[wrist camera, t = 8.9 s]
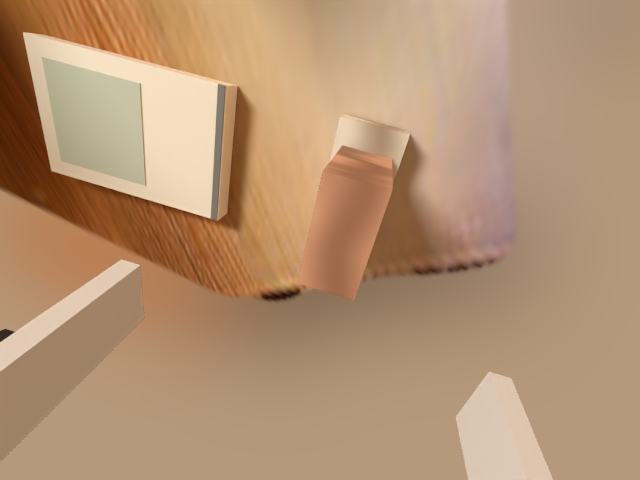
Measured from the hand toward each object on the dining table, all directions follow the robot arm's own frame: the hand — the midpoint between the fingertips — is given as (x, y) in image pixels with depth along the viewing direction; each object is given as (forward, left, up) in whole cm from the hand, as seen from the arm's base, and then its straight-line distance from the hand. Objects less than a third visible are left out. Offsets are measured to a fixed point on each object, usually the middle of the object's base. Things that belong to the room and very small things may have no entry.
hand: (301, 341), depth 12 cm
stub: (0, 0, -19) cm, 19 cm away
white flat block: (-21, 0, -19) cm, 28 cm away
